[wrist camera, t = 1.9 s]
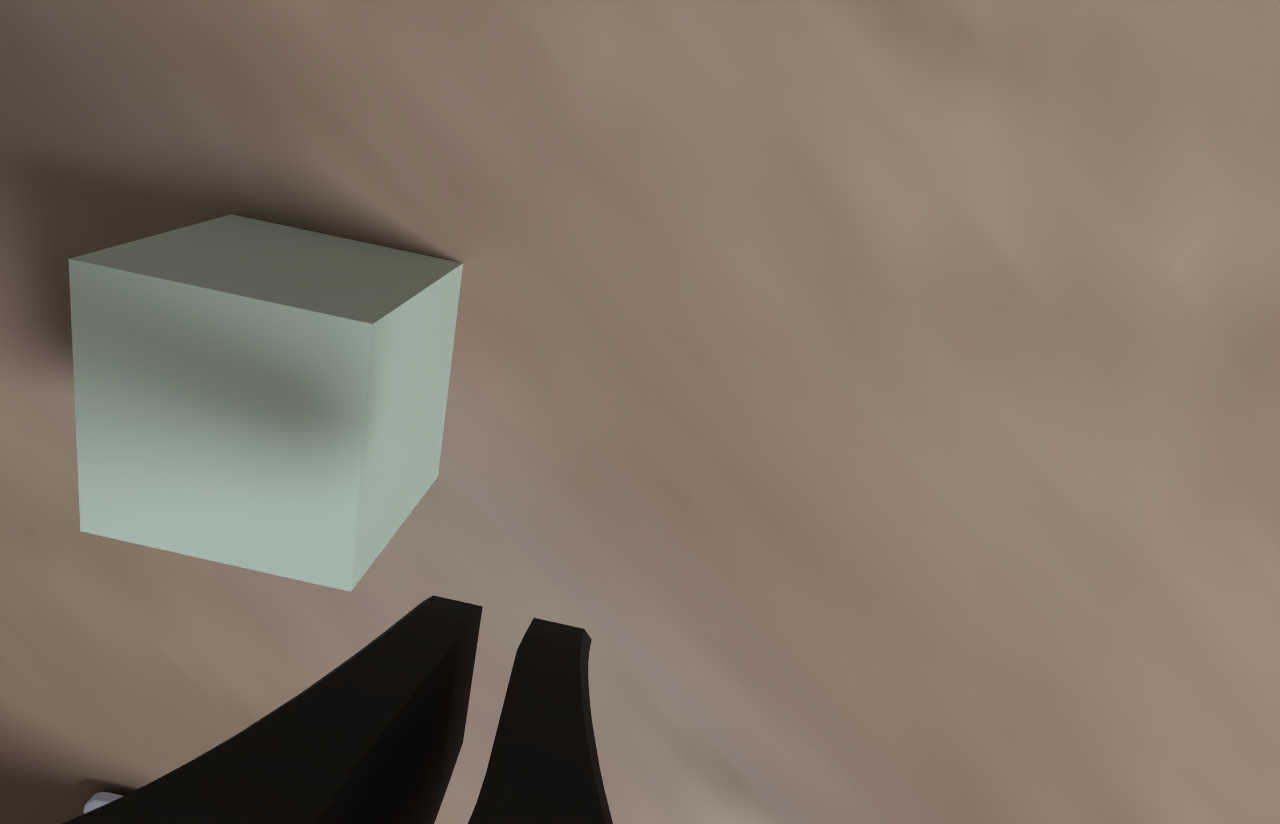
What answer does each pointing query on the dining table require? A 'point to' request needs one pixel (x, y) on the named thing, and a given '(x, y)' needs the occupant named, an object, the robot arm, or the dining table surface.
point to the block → (259, 393)
